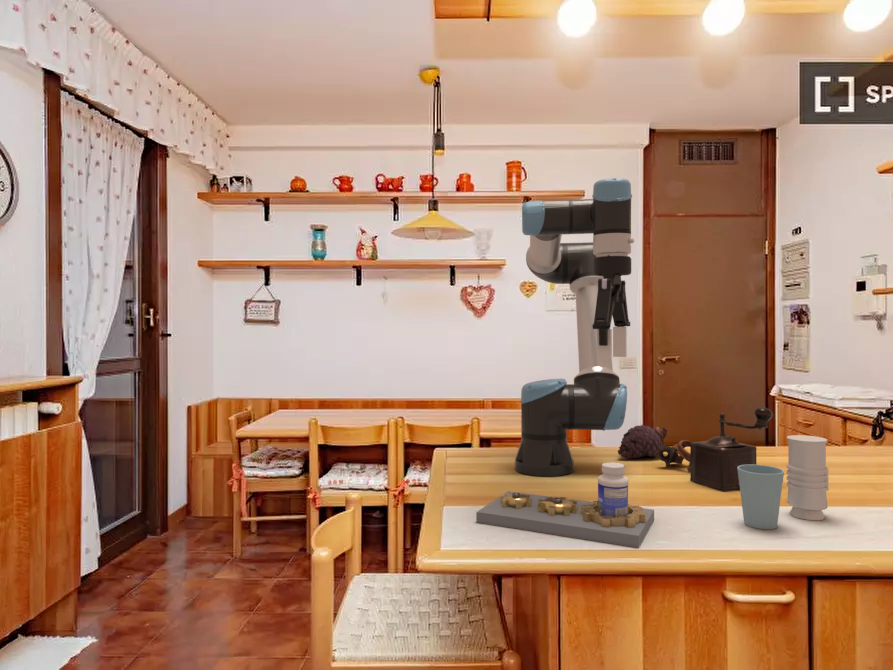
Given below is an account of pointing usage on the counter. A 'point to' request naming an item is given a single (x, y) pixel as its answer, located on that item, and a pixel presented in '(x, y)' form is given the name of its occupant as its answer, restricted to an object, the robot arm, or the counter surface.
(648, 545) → the counter surface
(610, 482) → the pill bottle
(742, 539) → the counter surface
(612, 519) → the gear
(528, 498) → the idler gear
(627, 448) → the pine cone
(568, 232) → the robot arm
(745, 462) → the manual coffee grinder
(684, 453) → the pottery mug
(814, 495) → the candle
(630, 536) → the gear board
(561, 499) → the gear
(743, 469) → the cup
